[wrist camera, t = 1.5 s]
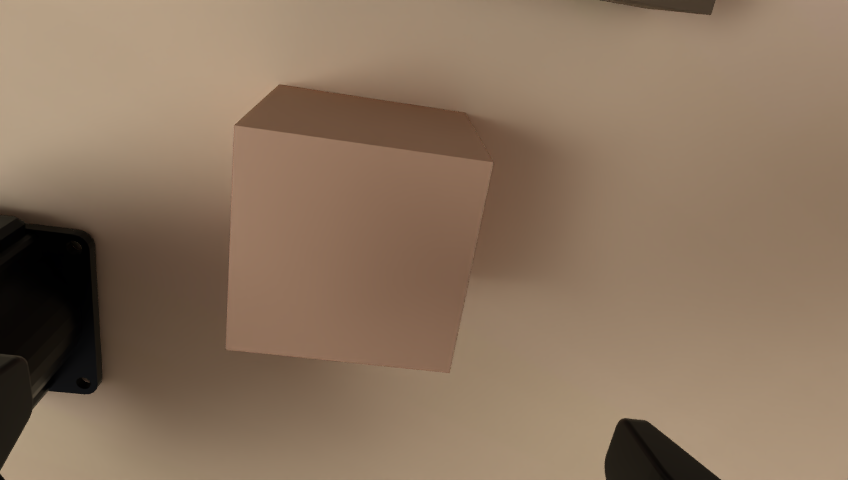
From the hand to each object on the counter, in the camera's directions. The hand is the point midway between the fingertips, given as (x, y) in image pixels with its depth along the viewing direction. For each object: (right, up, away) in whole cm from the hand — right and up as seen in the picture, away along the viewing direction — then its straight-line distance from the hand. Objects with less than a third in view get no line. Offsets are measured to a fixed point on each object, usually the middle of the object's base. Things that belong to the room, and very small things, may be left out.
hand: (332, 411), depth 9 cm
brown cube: (-1, +4, +11) cm, 12 cm away
